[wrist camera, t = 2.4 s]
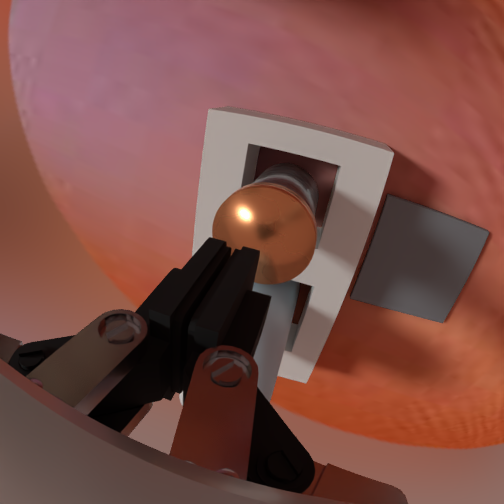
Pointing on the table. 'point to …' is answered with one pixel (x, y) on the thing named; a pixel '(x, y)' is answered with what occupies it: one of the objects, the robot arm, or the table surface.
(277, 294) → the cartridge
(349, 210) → the housing
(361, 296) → the mat
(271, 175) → the plunger
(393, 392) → the table surface
